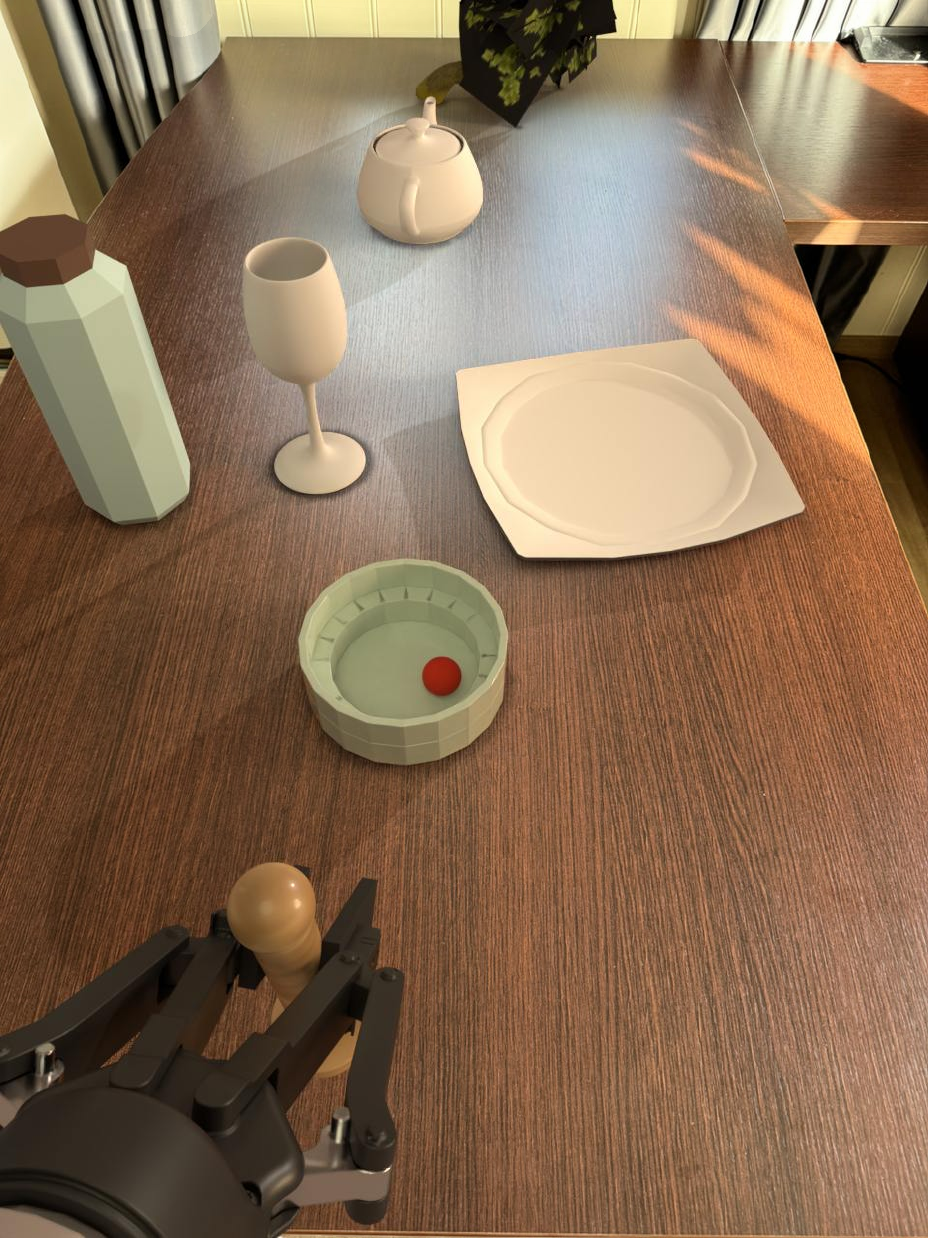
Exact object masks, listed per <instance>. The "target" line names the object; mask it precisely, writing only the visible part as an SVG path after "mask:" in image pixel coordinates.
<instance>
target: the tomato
mask: <svg viewBox="0 0 928 1238" xmlns="http://www.w3.org/2000/svg"><path fill="white" fill-rule="evenodd" d="M422 680H423V684H424V686H425V687H426V689H427V690H428V691H429V692H431V693H432V694H434V695H438V696H446V695H449V694H451V693H453V692H454V691H455V690H456V689H457V688H458V687H459V685H460V682H461V670H460V667H459V666H458V664H457V663H456V662H455V661H454V660H452V659H451V658H448V657H444V656H440V657H435V658H433V659H431V660H430V661H429V662H428V663H427V664H426V665H425V667H424V669H423V672H422Z"/></svg>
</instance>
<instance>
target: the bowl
mask: <svg viewBox="0 0 928 1238" xmlns="http://www.w3.org/2000/svg"><path fill="white" fill-rule="evenodd" d="M297 645H298V654H299V655H298V656H299V665H300V669H301V673H302V679H303V681H304V685H305V689H306V693H307V697H308V701H309V705H310V708H311V710H312V711H313V714H314V716H315V717H316V719H317V722H318V723H319V725H320V727H321V729H322V730H323V731H324V733H326V734H327V735H328V736H329V737H330V738H331V739H333V741H335V742H336V743H337V744H338V745H339V746H341V747H342V749H344V750H346V751H348V752H350V753H353V754H355V755H357V756H360V757H362V758H365V759H367V760H370V761H372V762H374V763H382V764H389V765H390V764H391V765H398V766H413V765H417V764H422V763H423V764H424V763H429V762H430V763H431V762H434V761H439V760H442V759H444V758H446V757H447V756H450V755H452V754H454V753H456V752H458V751H460V750H462V749H464V748H466V747H468V746H470V745H471V744H472V743H473V742H474V741H475V740H476V739H477V738H478V737H479V736H480V735H481V734H483V733H484V732H485V731H486V730H487V729H488V728H489V727H490V726H491V724H492V722H493V721H494V718H495V716H496V715H497V712H498V710H499V709H500V708H501V707H500V706H502V703H503V700H504V694H505V686H506V677H507V664H508V663H507V661H508V648H509V647H508V646H509V631H508V628H507V624H506V621H505V617H504V613H503V610H502V608H501V607H500V605H499V604H498V603H497V601H496V599H495V598H494V597H493V596H492V594H491V593H490V591H489V590H488V589H487V588H486V586H485V585H483V584H482V583H481V582H479V581H478V580H476V579H475V578H473V576H470V575H469V574H468V573H467V572H465V571H464V570H462V569H458V568H455V567H452V566H451V565H446V564H444V563H441V562H439V561H436V560H435V561H434V560H426V559H418V558H416V559H415V558H407V557H406V558H404V557H403V558H396V559H390V560H389V559H388V560H382V561H376V562H372V563H370V564H366V565H363V566H362V567H359V568H357V569H354V570H352V571H348V572H346V573H344V574H343V575H342V576H341V577H339V578H338V579H336V580H335V581H334V582H333V583H331V584H330V585H328V586H327V587H326V588H325V589H323V590H322V591H321V592H320V594H319V595H318V597H317V598H316V599H315V601H314V602H313V604H311V605H310V607H309V609H308V610H307V612H305V614H304V617H303V621H302V625H301V628H300V631H299V635H298V638H297ZM440 656H444V657H448V658H451V659H452V660H454V661H455V662H456V663H457V664H458V666H459V667H460V670H461V682H460V685H459V687H458V688H457V689H456V690H455V691H454V692H453V693H451V694H449V695H446V696H438V695H434V694H432V693H431V692H429V691H428V690H427V689H426V687H425V686H424V684H423V680H422V672H423V669H424V667H425V665H426V664H427V663H428V662H429V661H430V660H431V659H433V658H435V657H440Z"/></svg>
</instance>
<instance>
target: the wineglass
mask: <svg viewBox="0 0 928 1238" xmlns="http://www.w3.org/2000/svg"><path fill="white" fill-rule="evenodd" d="M242 304H243V306H242V307H243V316H244V321H245V326H246V331H247V334H248V338H249V341H250V344H251V348H252V350H253V353H254V355H255V356H256V359H257V360H258V361H259V363H260V364H261V365H262V366H263V367H264V368H265V370H266V371H268V372H269V373H270V374H272V376H274V377H276V378H278V379H279V380H281V381H283V382H286V383H288V384H294V385H298V386H299V387H300V391H301V394H302V398H303V401H304V406H305V411H306V416H307V425H308V433H306V434H303V435H300V436H297V437H295V438H294V439H292V440H290V441H289V442H287V443H286V444H285V445H284V446H283V447H282V448H281V449H280V450H279V451H278V453H277V455H276V456H275V459H274V465H273V466H274V467H273V469H274V473H275V475H276V477H277V479H278V480H279V481H280V482H281V483H282V484H283V485H284V486H285V487H287V488H289V490H293V491H295V492H298V493H302V494H306V495H325V494H331V493H334V492H338V491H341V490H343V489H345V488H347V487H349V486H350V485H352V484H353V483H354V482H355V481H356V480H358V478H359V477H360V476H361V475H362V473H363V471H364V470H365V467H366V462H367V458H366V453H365V451H364V449H363V447H362V446H361V445H360V444H359V443H358V442H357V440H355V439H353V438H352V437H349V436H347V435H345V434H342V433H340V432H339V433H338V432H333V431H322V430H321V425H320V419H319V416H318V409H317V401H316V383H318V382H320V381H322V380H323V379H325V378H326V377H328V376H329V375H330V374H331V373H332V372H334V370H335V369H336V368H337V367H338V365H339V364H340V363H341V361H342V359H343V357H344V354H345V352H346V348H347V344H348V343H347V342H348V319H347V318H348V317H347V311H346V305H345V299H344V295H343V291H342V286H341V284H340V280H339V278H338V274H337V272H336V269H335V266H334V264H333V260H332V257H330V254H329V252H328V251H327V249H326V248H325V247H324V246H323V245H322V244H320V243H319V242H316V241H314V240H311V239H308V238H304V237H296V236H295V237H292V236H291V237H289V236H288V237H279V238H273V239H270V240H266V241H264V242H262V243H260V244H258V245H256V246H254V247H253V248H252V249H250V250H249V251H248V253H247V254H246V256H245V257H244V260H243V265H242Z"/></svg>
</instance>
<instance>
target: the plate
mask: <svg viewBox="0 0 928 1238" xmlns="http://www.w3.org/2000/svg"><path fill="white" fill-rule="evenodd" d="M455 384H456V385H455V387H456V394H457V405H458V413H459V422H460V423H459V424H460V433H461V436H462V441H463V444H464V449H465V452H466V455H467V459H468V463H469V467H470V470H471V472H472V474H473V477H474V479H475V482H476V484H477V487H478V490H479V492H480V495H481V497H482V500H483V502H484V504H485V505H486V507H487V509H488V511H489V512H490V514H491V515H492V517H493V519H494V521H495V522H496V524H497V526H498V528H499V529H500V531H501V532H502V534H503V536H504V537H505V539H506V541H507V542H508V544H509V546H510V547H511V550H512V551H513V552H514V554H515V556H516V557H517V558H519V559H521V560H523V561H525V562H526V561H527V562H530V561H533V562H537V561H538V562H539V561H549V562H550V561H619V560H620V561H621V560H627V559H629V560H630V559H635V558H643V557H644V558H645V557H652V556H660V555H661V556H663V555H669V554H674V553H679V552H683V551H688V550H692V549H697V548H698V549H699V548H702V547H703V548H704V547H707V546H712V545H715V544H721V543H724V542H725V543H726V542H728V541H731V540H733V539H737V538H739V537H742V536H745V535H748V534H751V533H754V532H756V531H759V530H763V529H765V528H768V527H771V526H775V525H776V524H780V523H783V522H786V521H789V520H792V519H794V518H798V517H800V516H802V515H803V513H804V511H805V509H806V505H805V503H804V501H803V500H802V497H801V495H800V494H799V492H798V490H797V488H796V486H795V484H794V482H793V480H792V478H791V476H790V475H789V472H788V471H787V468H786V467H785V464H784V462H783V461H782V459H781V457H780V455H779V453H778V451H777V449H776V447H775V445H774V444H773V443H772V441H771V440H770V437H768V435H767V433H766V432H765V430H764V428H763V427H762V425H761V423H760V422H759V419H758V418H757V417H756V415H755V414H754V413H753V411H752V409H751V408H750V406H749V405H748V404H747V402H746V401H745V399H744V398H743V396H742V395H741V394H740V392H739V391H738V389H737V388H736V386H735V385H734V384H733V383H732V382H731V380H730V379H729V378H728V376H727V374H726V373H725V372H724V371H723V369H722V368H721V367H720V366H719V364H718V362H717V361H716V360H715V358H713V356H712V354H710V353H709V351H708V350H707V348H706V347H705V346H704V345H703V343H702V342H701V341H700V340H699V339H697V338H685V339H676V340H667V341H660V342H652V343H644V344H643V343H641V344H635V345H626V346H618V347H609V348H602V349H594V350H585V351H578V352H577V351H576V352H570V353H563V354H555V355H548V356H543V357H536V358H535V357H534V358H530V359H523V360H516V361H515V360H514V361H509V362H502V363H496V364H488V365H482V366H481V365H480V366H476V367H475V366H474V367H469V368H462V369H459V370H458V371H457V372H455Z"/></svg>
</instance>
